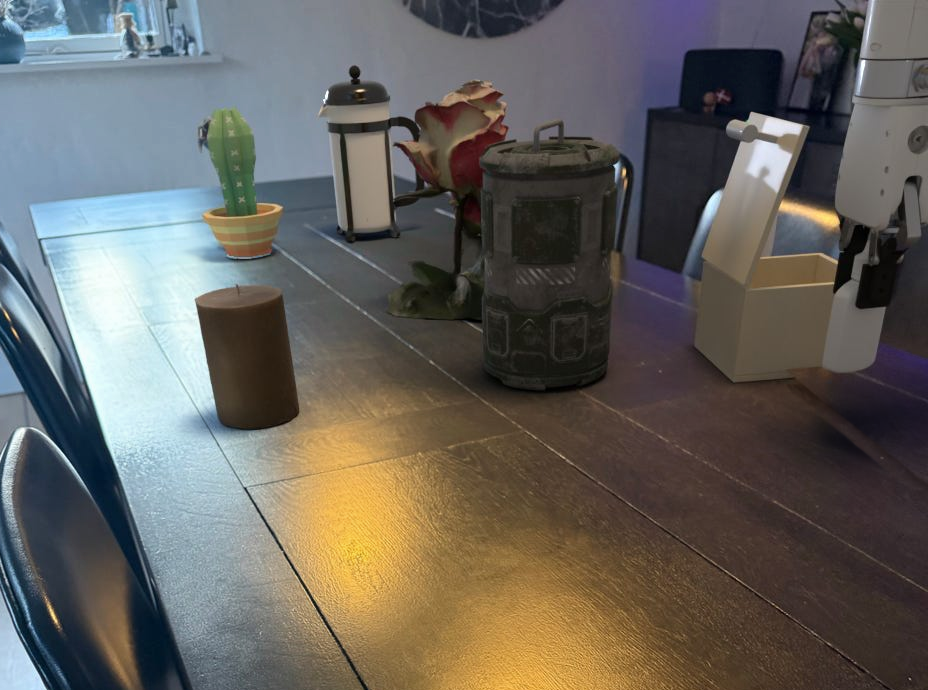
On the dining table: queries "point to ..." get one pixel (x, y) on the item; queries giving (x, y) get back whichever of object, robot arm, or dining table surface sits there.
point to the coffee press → (364, 156)
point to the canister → (548, 258)
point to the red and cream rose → (457, 171)
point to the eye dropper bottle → (852, 327)
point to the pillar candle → (248, 355)
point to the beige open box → (767, 317)
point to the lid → (753, 193)
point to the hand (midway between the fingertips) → (860, 298)
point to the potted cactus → (237, 187)
